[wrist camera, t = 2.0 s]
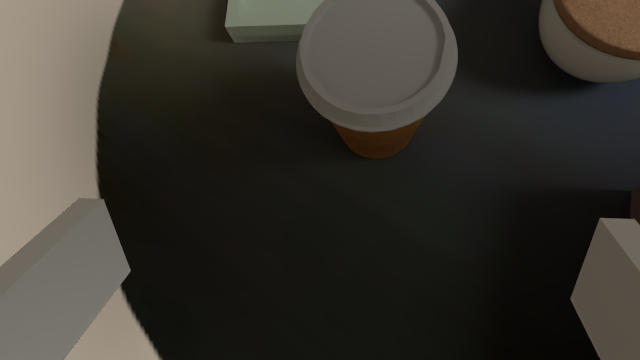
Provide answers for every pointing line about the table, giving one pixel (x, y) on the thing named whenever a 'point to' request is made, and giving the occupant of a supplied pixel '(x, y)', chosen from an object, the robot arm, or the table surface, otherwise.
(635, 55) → the lidded jar
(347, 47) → the disposable coffee cup
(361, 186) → the table surface
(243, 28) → the tray
